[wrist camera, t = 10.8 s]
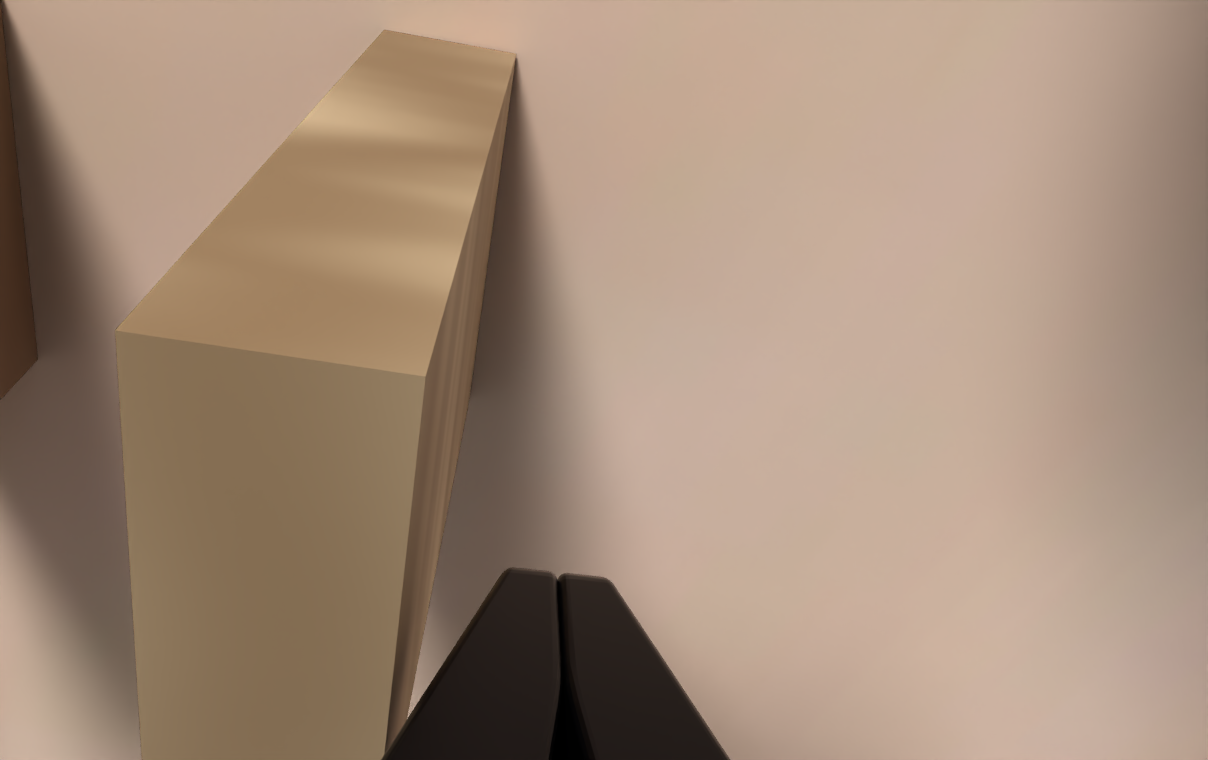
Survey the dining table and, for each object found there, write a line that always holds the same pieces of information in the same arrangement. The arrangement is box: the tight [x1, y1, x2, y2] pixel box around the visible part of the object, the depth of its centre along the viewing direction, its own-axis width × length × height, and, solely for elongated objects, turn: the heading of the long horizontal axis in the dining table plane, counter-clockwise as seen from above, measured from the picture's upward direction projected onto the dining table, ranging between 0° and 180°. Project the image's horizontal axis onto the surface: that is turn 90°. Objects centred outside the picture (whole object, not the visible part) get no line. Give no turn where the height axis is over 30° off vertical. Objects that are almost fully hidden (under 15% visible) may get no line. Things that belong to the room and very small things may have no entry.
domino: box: [115, 30, 516, 760], centre depth 10 cm, size 2×5×8 cm, turn 169°
